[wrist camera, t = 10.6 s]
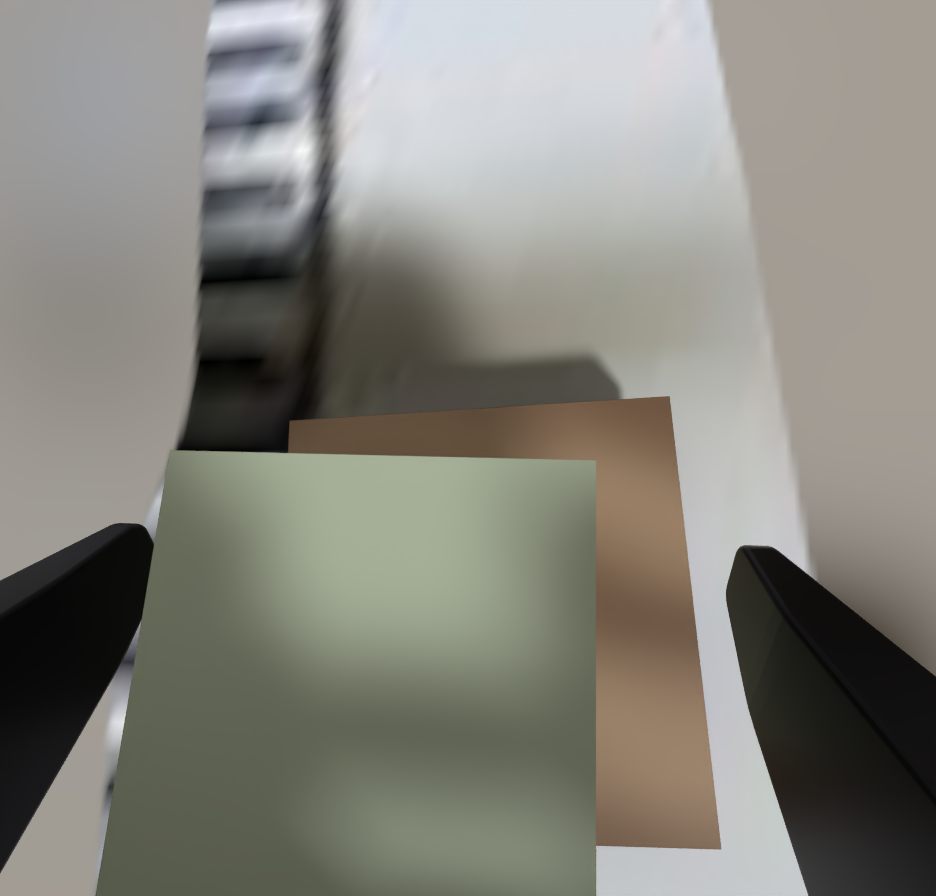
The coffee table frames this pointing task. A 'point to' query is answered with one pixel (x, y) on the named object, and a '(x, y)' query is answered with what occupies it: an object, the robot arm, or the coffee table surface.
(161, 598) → the sage block
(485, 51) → the coffee table surface
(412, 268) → the coffee table surface
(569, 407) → the tan square board
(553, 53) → the coffee table surface
